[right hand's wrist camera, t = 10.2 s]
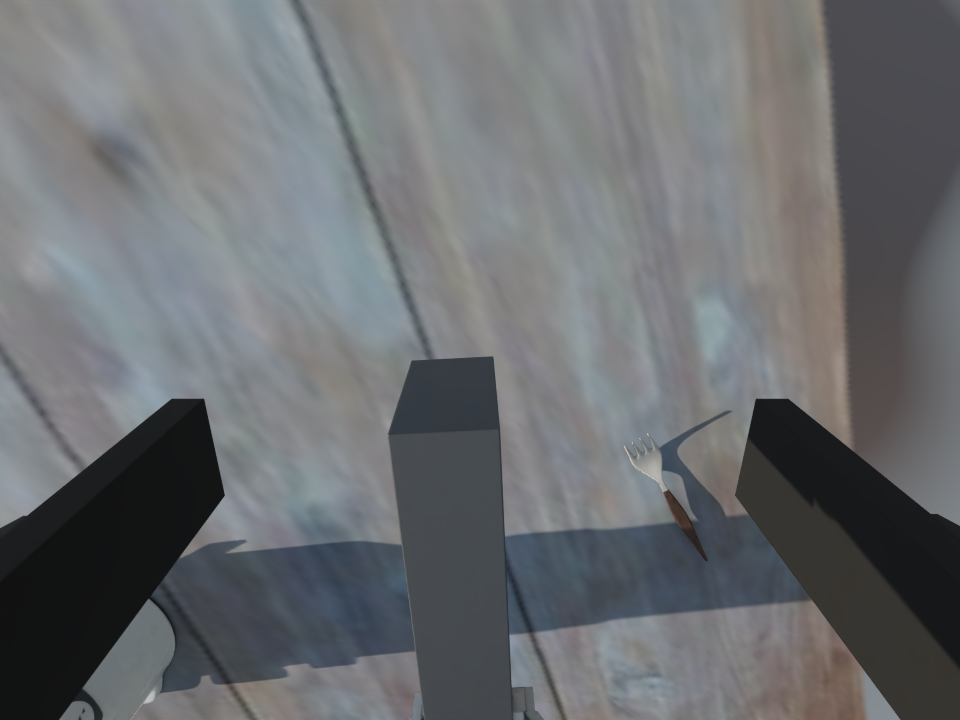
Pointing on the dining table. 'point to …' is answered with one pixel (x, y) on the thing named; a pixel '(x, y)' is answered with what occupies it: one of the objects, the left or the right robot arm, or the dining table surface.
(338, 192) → the dining table surface
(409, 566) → the bar
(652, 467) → the fork
